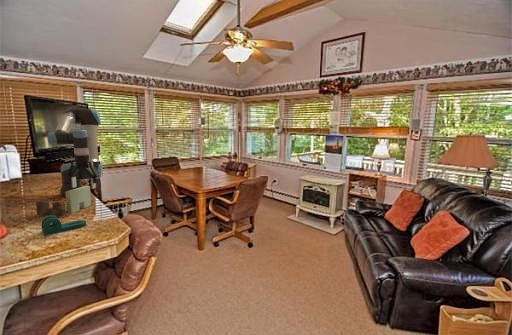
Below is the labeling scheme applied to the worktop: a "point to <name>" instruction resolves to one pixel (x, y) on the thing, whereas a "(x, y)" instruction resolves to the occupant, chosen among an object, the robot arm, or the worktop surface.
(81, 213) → the worktop surface
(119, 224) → the worktop surface
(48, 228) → the bracket
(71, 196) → the sage slotted plate
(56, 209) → the walnut slotted plate
